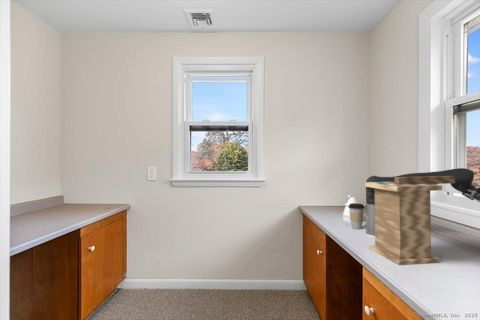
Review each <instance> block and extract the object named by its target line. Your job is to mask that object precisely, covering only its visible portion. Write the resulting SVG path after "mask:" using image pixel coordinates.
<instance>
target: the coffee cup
mask: <svg viewBox="0 0 480 320" xmlns="http://www.w3.org/2000/svg"><path fill="white" fill-rule="evenodd" d="M349 209H350V220H351V223H350V224H351V228H352V229H353V230H362V229H363V222H364V209H365V205H364V204H362V203H359V202H358V203H351V204H350V205H349ZM362 221H363V222H362Z"/></svg>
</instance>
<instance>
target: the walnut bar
mask: <svg viewBox="0 0 480 320" xmlns="http://www.w3.org/2000/svg"><path fill="white" fill-rule="evenodd" d="M393 177H394V179H395V184H397V185H409V184H437V185H443V184H444V185H445V184H447V185H449V184H450V183H455V176H427V177H395V176H393Z"/></svg>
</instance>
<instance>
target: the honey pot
mask: <svg viewBox="0 0 480 320" xmlns="http://www.w3.org/2000/svg"><path fill="white" fill-rule="evenodd" d="M347 198H349V199H348V200H347V202H346V203H344V205H345V207H344V210H343V212H342V221H343V220H344V221H343V222H345V221H346V222H345V223H350V222H351V220H350V209H349V205H350V204H351V203H358V204H359V202H358V200H357V199H356V197H354V196H352V194H348V195H347ZM363 222H364V220H363V221H362V223H363Z"/></svg>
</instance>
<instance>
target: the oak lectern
mask: <svg viewBox="0 0 480 320" xmlns="http://www.w3.org/2000/svg"><path fill="white" fill-rule="evenodd" d="M364 186H365V188H366V187H372V188H374V190H375V235H374V245H368V250H371V252H374V253H376V254H378V255H379V256H382V257H383V258H385V259H387V260H389V261H391V262H392V263H394V264H397V265H398V266H403V265H420V264H421V265H422V264H436V263H437V264H438V263H440V258H438V257H435V256H434V255H432V230H431V229H432V226H431V221H432V217H431V215H432V214H431V210H432V209H431V191H435V192H436V191H443V184H437V185H436V184H409V185H397V184H395V182H366V181H365V182H364Z"/></svg>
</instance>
